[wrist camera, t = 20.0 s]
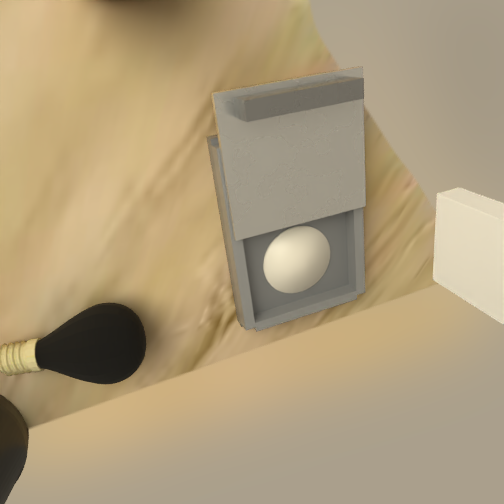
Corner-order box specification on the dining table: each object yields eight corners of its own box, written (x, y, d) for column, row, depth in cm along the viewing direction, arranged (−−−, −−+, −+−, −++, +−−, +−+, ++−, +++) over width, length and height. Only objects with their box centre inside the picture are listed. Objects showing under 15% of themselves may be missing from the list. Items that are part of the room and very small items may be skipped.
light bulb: (5, 419, 38) (152, 394, 39) (-33, 366, 34) (132, 338, 35) (25, 357, 44) (154, 335, 44) (-5, 304, 40) (137, 281, 40)
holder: (237, 320, 47) (246, 334, 45) (206, 136, 39) (215, 142, 37) (351, 284, 51) (365, 296, 48) (344, 108, 42) (360, 112, 40)
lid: (233, 238, 40) (245, 252, 38) (210, 93, 35) (222, 96, 32) (362, 204, 44) (381, 214, 41) (358, 66, 38) (380, 67, 36)
